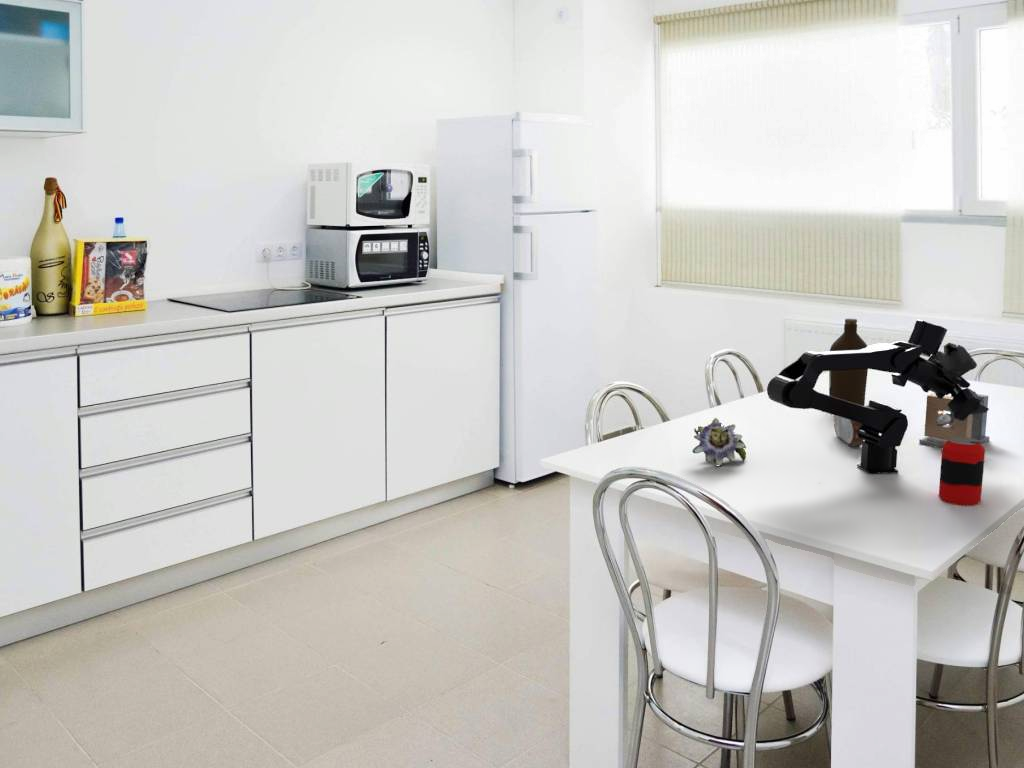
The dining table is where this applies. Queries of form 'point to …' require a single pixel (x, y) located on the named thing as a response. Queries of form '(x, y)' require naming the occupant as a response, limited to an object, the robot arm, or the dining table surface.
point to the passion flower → (719, 442)
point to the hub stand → (977, 425)
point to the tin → (847, 430)
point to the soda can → (961, 471)
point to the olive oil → (849, 381)
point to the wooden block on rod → (945, 431)
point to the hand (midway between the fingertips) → (977, 398)
